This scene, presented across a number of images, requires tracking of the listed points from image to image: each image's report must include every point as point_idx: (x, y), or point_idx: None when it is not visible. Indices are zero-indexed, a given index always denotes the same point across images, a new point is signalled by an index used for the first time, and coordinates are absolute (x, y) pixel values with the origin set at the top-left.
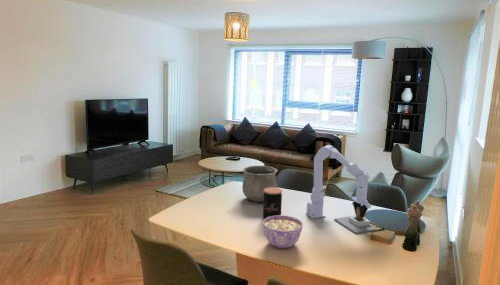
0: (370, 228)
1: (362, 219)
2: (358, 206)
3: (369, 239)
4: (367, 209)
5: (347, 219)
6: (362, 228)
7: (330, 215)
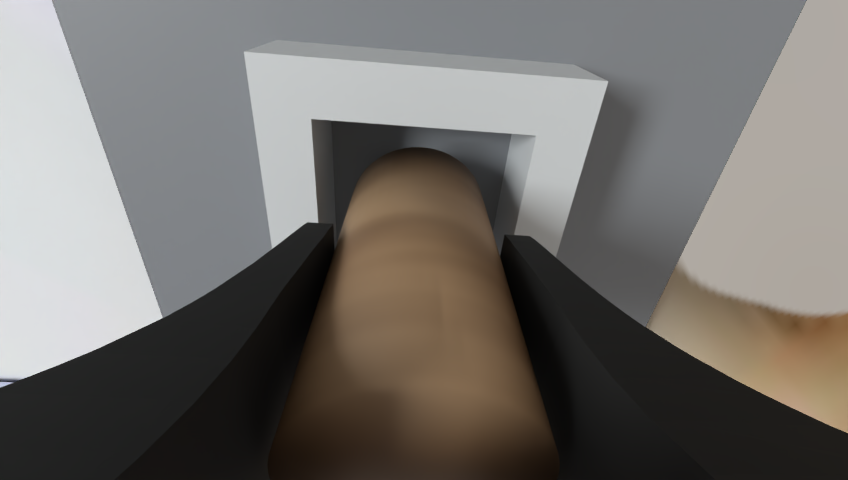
0: (674, 171)
1: (486, 211)
2: (285, 467)
3: (782, 342)
4: (754, 403)
5: (237, 257)
6: (592, 275)
7: (16, 315)
